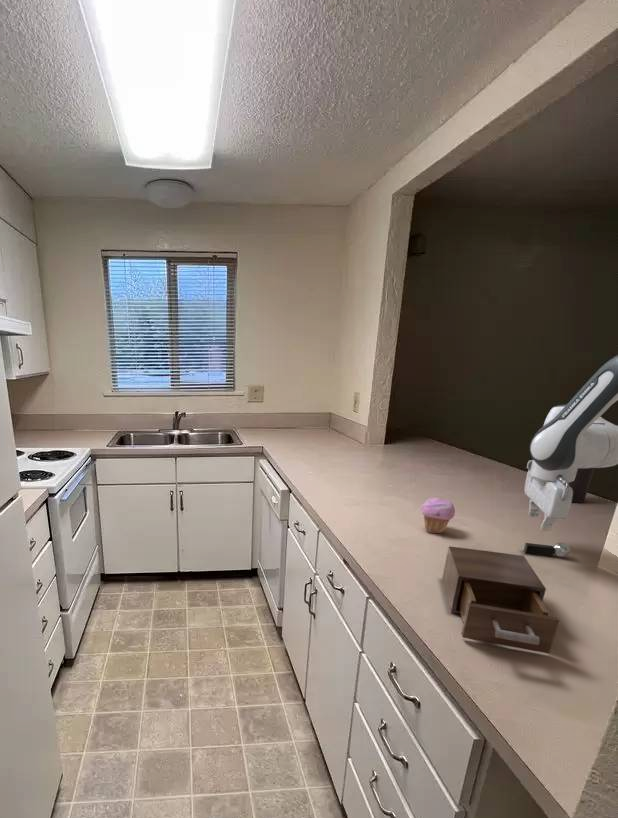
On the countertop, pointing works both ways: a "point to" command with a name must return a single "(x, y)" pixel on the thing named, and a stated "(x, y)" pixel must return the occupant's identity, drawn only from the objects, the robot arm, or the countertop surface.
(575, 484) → the bottle
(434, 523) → the cupcake
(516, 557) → the cabinet
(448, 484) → the countertop surface
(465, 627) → the drawer
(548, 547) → the scoop
